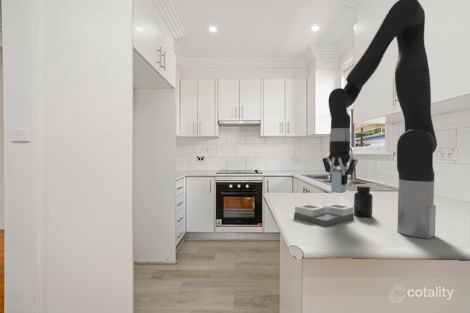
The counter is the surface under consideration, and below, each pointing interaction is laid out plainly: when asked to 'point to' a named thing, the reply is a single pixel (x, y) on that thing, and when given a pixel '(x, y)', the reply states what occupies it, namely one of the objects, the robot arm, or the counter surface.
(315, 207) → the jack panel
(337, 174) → the plug
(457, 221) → the counter surface
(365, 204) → the supplement bottle
